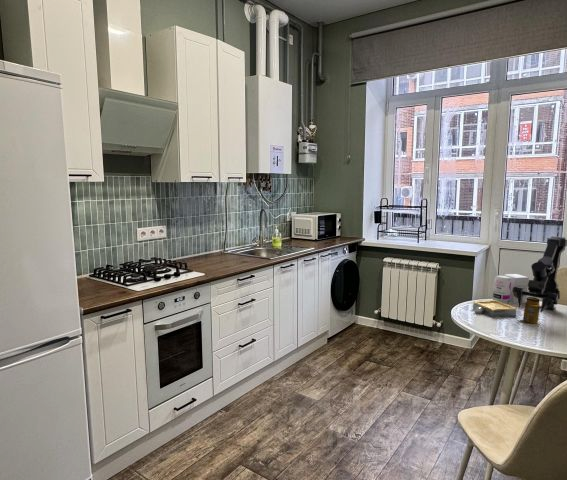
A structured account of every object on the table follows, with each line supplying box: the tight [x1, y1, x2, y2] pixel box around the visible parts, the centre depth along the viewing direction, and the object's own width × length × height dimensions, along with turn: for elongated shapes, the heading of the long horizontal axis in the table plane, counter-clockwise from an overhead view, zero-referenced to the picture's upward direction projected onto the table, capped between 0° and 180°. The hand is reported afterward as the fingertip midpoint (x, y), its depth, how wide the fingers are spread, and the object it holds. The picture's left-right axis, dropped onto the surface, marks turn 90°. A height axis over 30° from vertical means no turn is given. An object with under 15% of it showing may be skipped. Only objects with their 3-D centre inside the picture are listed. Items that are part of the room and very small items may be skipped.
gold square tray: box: [472, 299, 517, 318], centre depth 206 cm, size 18×14×4 cm
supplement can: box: [492, 274, 511, 305], centre depth 224 cm, size 8×8×15 cm
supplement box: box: [503, 273, 530, 304], centre depth 228 cm, size 9×9×15 cm
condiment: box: [517, 296, 541, 327], centre depth 192 cm, size 7×8×12 cm
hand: (529, 309), depth 191 cm, fingers open, 9 cm apart
